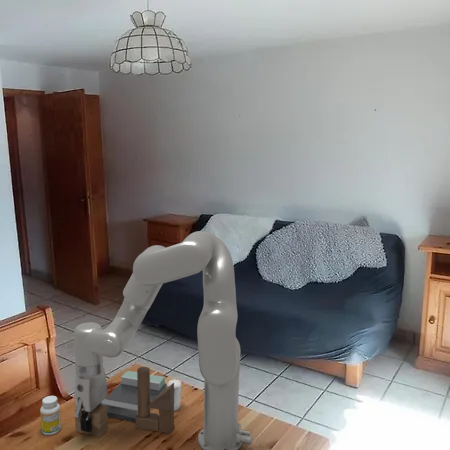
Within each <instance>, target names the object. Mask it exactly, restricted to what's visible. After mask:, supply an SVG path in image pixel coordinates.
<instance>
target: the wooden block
mask: <svg viewBox="0 0 450 450" xmlns="http://www.w3.org/2000/svg"><path fill="white" fill-rule="evenodd" d="M136 372H137V389H138V415H137V416H136V422H135V428H136V429H140V430H146V431H154V432H160V433H163V434H171V433H172V432H173V429H174V427H175V411H174V383H173V384H171V385H170V386H169V387H168V388H166V389H165V390H164V391H163V392H162V393H161V394H159V395H158V396H157V397H156V398H155V399H153V400H152V401H151V403H150V375H151V369H150V368H149V367H148V366H141V367H138V368H137V369H136ZM151 409H153V410H158V412H157V413H156V412H151Z"/></svg>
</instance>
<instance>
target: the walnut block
mask: <svg viewBox="0 0 450 450" xmlns="http://www.w3.org/2000/svg"><path fill="white" fill-rule="evenodd" d="M75 411H76V408H74V412H75ZM86 413H87V411H83V414H86ZM90 418H91V424H92V431H91V432H86V431H82V430H81V422H80V419H79V418H78V417H74V422H75V423H74V425H75V428H74V429H75V432H77V433H82V434H87V435H90V436H95V437H101V436H102V435H103V434H104V433H105V432H106V431H107V430H108V417H107V407H106V406H101V405H98V406H97V407H96V408H95V409H94V410H92V411H91V412H90Z"/></svg>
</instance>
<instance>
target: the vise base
mask: <svg viewBox="0 0 450 450" xmlns="http://www.w3.org/2000/svg"><path fill="white" fill-rule="evenodd" d="M167 384H168V383H165V384H164V386H163V387H162V388H161V389H160V390H159V391H158V390H153V389H150V403H151V401H152V400H153V399H155V398H156V397H157V396H158V395H159V394H161V393H162V392H163V391H164V390H165V389H167ZM102 406H106V407H107V418H112V419H117V420H122V421H125V422H132V423H136V416H137V415H138V389H137V387H136V386H130V385H125V384H121V382H120V383H119V384H118V385H117V386H116V387H115V388H114V389H113V390H112V391H111V392H110V393H109V394H107V396H106V397H105V399H104V400H103V401H102Z"/></svg>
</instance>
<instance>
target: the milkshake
mask: <svg viewBox="0 0 450 450" xmlns="http://www.w3.org/2000/svg"><path fill="white" fill-rule="evenodd" d="M183 382H184V381H183V380H182V381H180V380H179V379H170V380H169V381H168V382H167V383H166V384H167V388H168V387H169V386H170V385H171V384H173V383H174V412H175V411H176V412H177V411H178V410H180V408H181V396H182V385H183ZM167 388H166V389H167Z"/></svg>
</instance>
